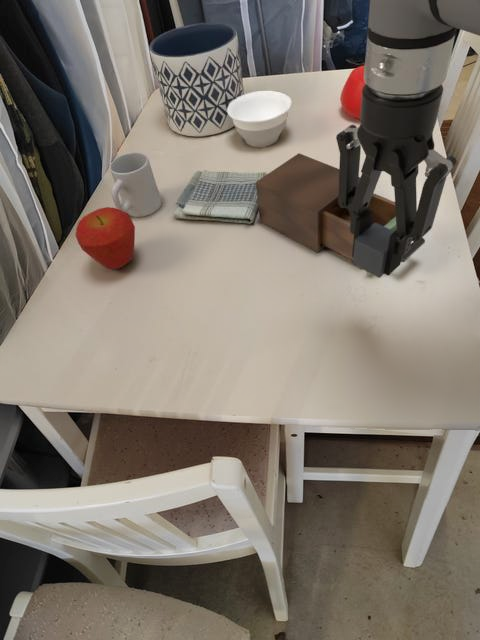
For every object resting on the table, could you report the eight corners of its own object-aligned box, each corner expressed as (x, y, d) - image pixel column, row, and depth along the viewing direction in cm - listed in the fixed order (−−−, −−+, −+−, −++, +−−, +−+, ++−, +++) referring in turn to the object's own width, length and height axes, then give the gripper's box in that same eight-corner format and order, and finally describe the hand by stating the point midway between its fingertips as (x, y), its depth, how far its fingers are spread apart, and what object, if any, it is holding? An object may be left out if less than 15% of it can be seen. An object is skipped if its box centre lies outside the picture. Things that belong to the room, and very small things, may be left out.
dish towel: (270, 177, 103) (269, 165, 100) (253, 226, 92) (252, 214, 90) (196, 175, 107) (193, 163, 105) (171, 222, 97) (167, 209, 94)
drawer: (429, 250, 80) (438, 215, 74) (392, 285, 76) (399, 251, 70) (345, 212, 90) (347, 178, 84) (308, 241, 86) (308, 208, 80)
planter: (255, 126, 119) (246, 43, 104) (174, 146, 118) (153, 64, 103) (236, 93, 134) (226, 16, 118) (164, 110, 133) (144, 34, 117)
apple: (132, 285, 85) (110, 236, 76) (84, 279, 88) (57, 231, 79) (153, 247, 92) (136, 198, 83) (108, 243, 95) (86, 195, 86)
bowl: (220, 149, 114) (215, 117, 107) (248, 120, 122) (245, 88, 116) (277, 158, 108) (274, 124, 101) (302, 126, 116) (301, 93, 110)
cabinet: (358, 219, 89) (362, 178, 82) (317, 253, 85) (318, 211, 77) (299, 193, 98) (298, 152, 90) (259, 221, 93) (255, 182, 86)
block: (398, 260, 60) (403, 235, 57) (379, 278, 59) (383, 253, 55) (371, 247, 63) (374, 222, 59) (352, 264, 61) (354, 239, 58)
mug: (139, 192, 106) (124, 149, 98) (168, 198, 103) (155, 154, 94) (109, 223, 99) (91, 180, 91) (140, 229, 96) (124, 186, 88)
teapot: (343, 91, 126) (345, 44, 117) (400, 89, 122) (407, 40, 113) (335, 136, 111) (337, 86, 102) (400, 136, 107) (408, 83, 98)
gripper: (307, 79, 46) (308, 249, 64) (470, 123, 37) (418, 307, 55) (351, 52, 49) (340, 222, 66) (513, 87, 40) (450, 273, 57)
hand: (375, 260), depth 60 cm, fingers closed on block, 4 cm apart
